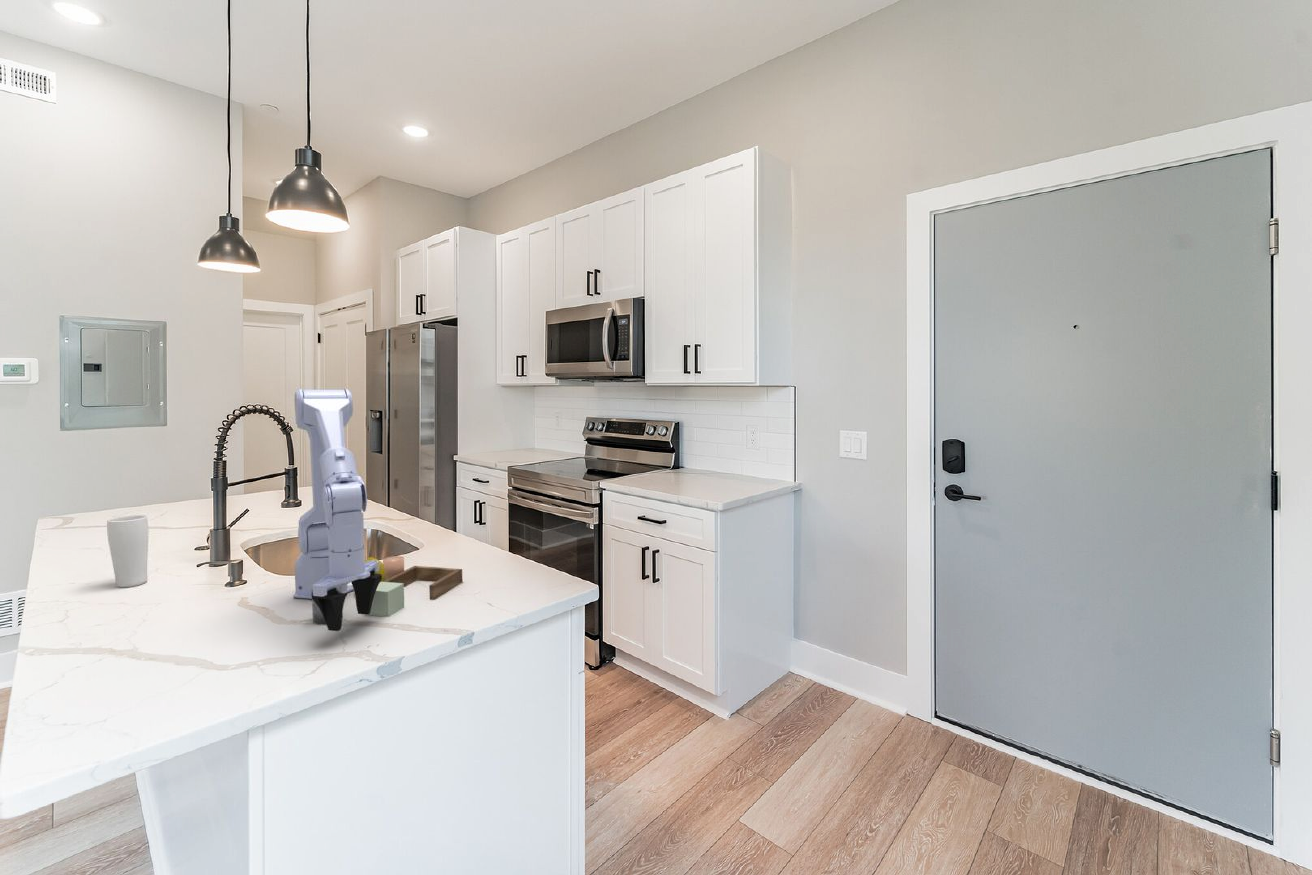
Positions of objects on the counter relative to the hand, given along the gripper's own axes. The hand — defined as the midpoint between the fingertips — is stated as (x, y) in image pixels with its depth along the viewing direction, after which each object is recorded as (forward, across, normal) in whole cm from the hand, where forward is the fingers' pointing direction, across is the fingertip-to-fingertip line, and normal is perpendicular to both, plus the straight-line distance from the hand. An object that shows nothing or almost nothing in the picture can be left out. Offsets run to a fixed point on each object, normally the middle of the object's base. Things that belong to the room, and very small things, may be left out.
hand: (349, 621), depth 108 cm
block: (+2, +10, 0) cm, 10 cm away
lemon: (+2, +18, +9) cm, 20 cm away
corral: (+2, +23, 0) cm, 23 cm away
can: (+2, +4, +8) cm, 9 cm away
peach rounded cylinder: (+2, +27, +10) cm, 29 cm away
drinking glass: (+2, +12, +65) cm, 66 cm away
